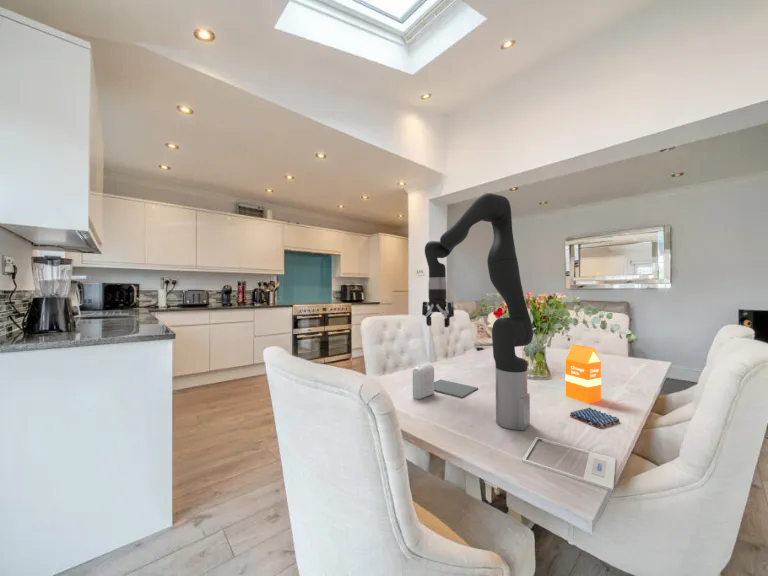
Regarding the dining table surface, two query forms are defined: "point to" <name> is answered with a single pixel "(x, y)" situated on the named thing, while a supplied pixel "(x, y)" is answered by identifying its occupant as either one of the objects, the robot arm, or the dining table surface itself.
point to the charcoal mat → (453, 388)
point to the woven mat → (594, 418)
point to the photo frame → (596, 470)
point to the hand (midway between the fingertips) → (437, 326)
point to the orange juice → (583, 374)
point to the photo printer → (423, 381)
